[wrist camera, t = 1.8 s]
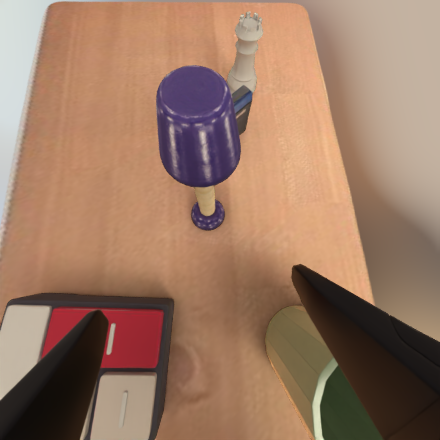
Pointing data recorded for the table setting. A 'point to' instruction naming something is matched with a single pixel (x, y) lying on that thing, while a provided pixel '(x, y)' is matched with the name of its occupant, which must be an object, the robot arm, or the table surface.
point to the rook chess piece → (245, 53)
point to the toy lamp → (198, 136)
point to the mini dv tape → (242, 106)
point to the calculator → (112, 358)
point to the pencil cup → (315, 379)
